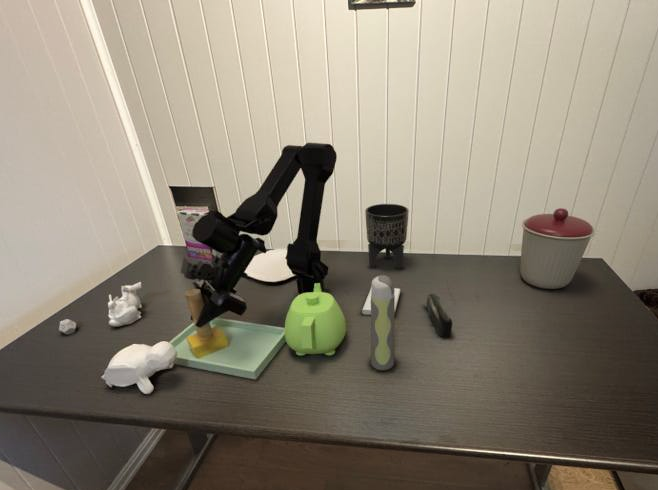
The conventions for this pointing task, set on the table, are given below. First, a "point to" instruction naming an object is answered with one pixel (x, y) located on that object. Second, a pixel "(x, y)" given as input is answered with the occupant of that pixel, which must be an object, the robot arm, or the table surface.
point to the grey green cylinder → (382, 323)
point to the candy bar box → (187, 224)
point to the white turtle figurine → (139, 365)
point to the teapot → (314, 323)
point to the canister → (553, 248)
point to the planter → (386, 231)
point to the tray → (234, 348)
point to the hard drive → (367, 304)
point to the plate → (270, 266)
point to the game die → (67, 326)
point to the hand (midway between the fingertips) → (195, 323)
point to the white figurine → (125, 306)
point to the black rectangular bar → (439, 315)
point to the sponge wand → (203, 329)
